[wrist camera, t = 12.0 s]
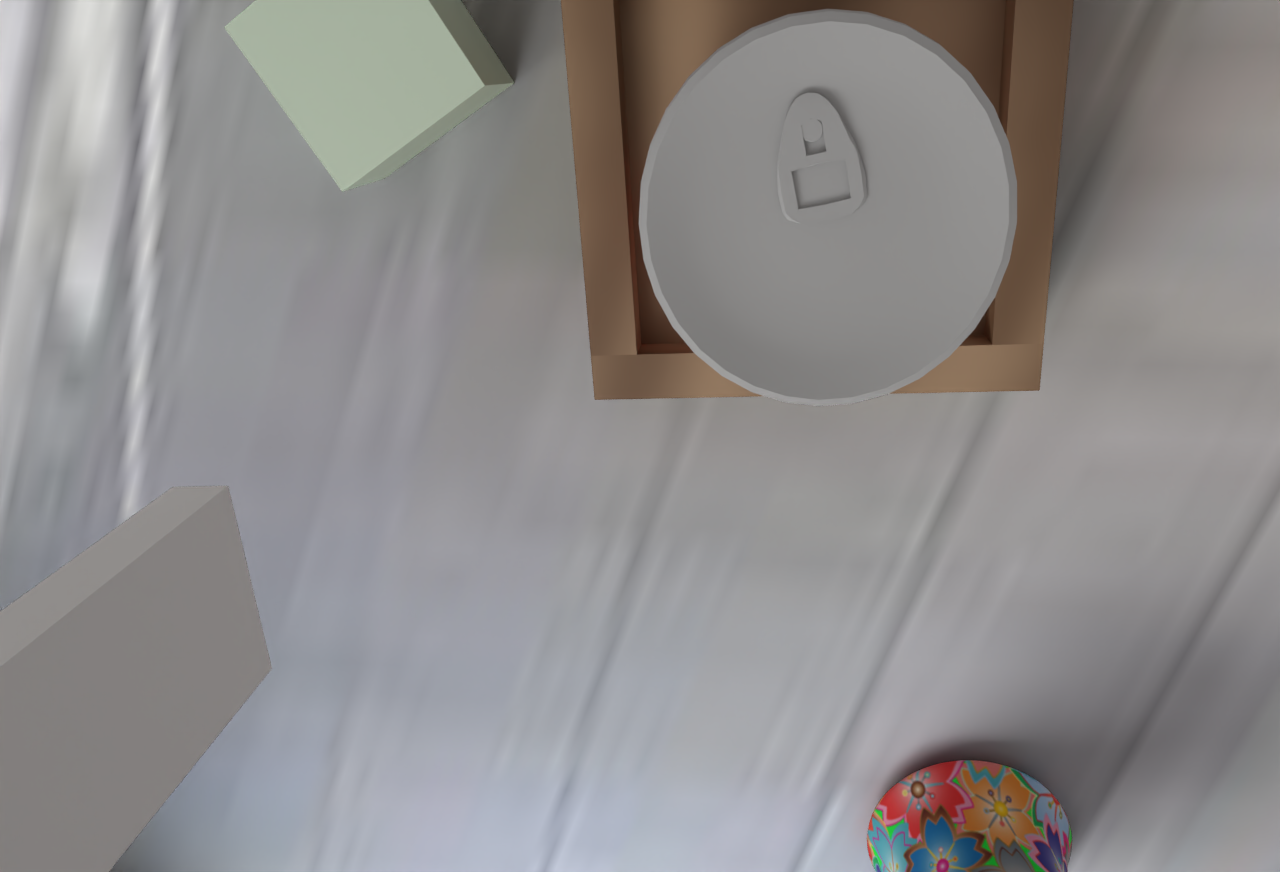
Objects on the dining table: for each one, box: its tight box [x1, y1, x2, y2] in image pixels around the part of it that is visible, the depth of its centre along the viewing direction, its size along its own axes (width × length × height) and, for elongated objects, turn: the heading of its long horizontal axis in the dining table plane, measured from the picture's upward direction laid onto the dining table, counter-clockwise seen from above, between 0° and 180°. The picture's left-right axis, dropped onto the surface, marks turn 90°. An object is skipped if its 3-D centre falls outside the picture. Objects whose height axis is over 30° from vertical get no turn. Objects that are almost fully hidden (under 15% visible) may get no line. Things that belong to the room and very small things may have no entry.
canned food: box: [639, 9, 1017, 406], centre depth 25 cm, size 8×8×11 cm
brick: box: [224, 0, 514, 192], centre depth 32 cm, size 6×6×4 cm
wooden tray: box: [561, 0, 1074, 400], centre depth 31 cm, size 14×14×5 cm
